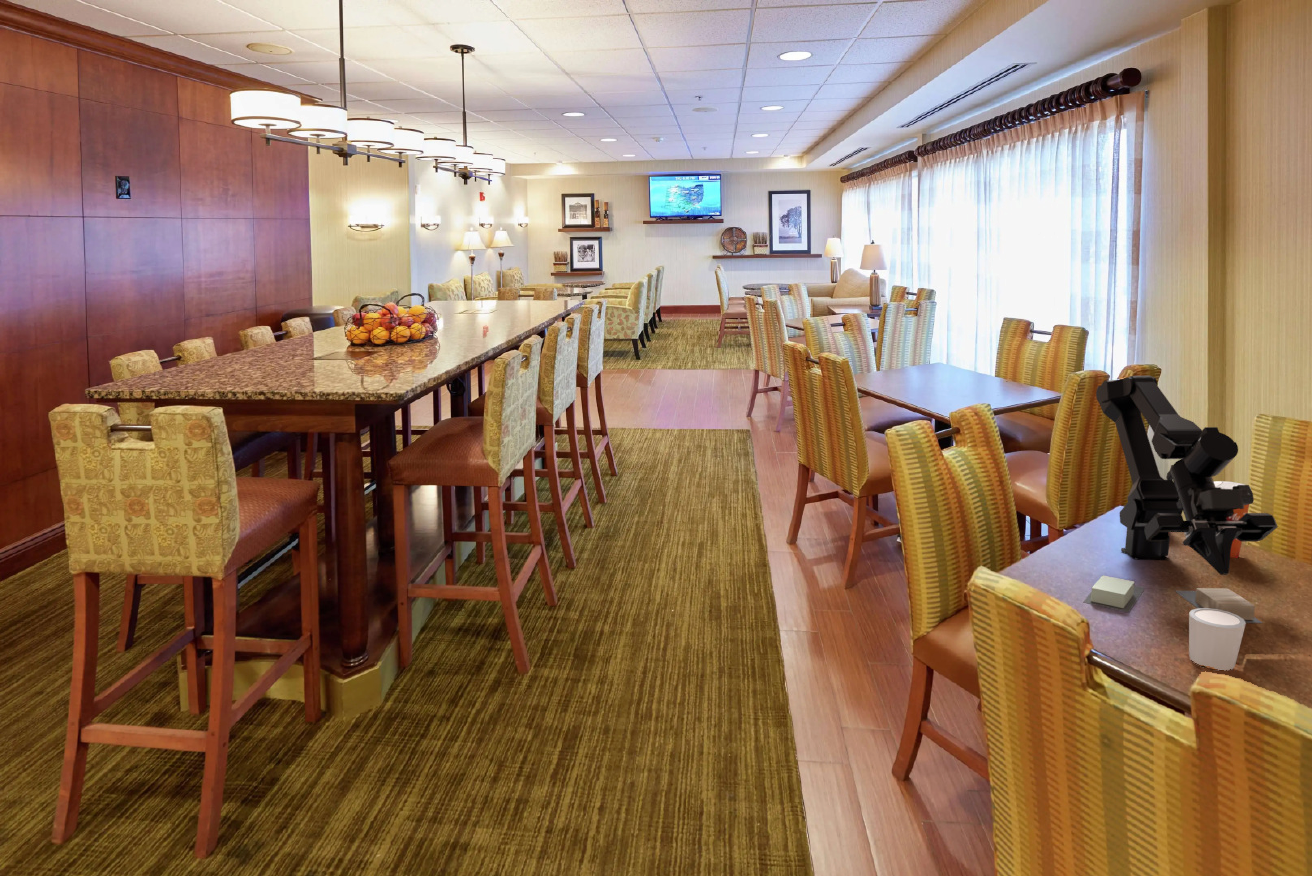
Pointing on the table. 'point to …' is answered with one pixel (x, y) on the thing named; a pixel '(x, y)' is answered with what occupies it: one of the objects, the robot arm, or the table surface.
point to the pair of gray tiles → (1138, 591)
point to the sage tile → (1112, 591)
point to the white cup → (1215, 637)
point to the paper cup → (1235, 517)
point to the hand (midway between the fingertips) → (1224, 574)
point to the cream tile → (1225, 601)
